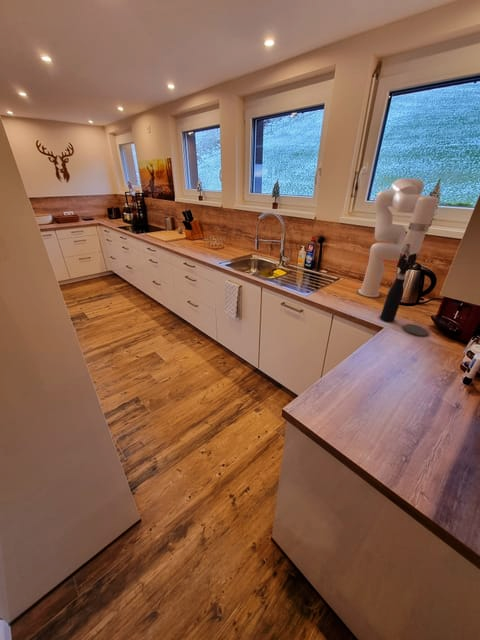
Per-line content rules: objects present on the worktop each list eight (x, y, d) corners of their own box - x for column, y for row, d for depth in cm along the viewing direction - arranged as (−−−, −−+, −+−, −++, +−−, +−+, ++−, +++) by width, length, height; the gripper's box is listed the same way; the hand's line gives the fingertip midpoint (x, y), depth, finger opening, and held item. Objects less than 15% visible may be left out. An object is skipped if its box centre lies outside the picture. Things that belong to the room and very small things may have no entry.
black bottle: (390, 323, 133) (411, 265, 118) (377, 318, 137) (396, 262, 122) (395, 319, 136) (416, 263, 122) (383, 315, 141) (401, 260, 126)
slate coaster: (409, 323, 133) (409, 322, 133) (430, 332, 126) (431, 330, 126) (399, 329, 128) (400, 327, 127) (421, 338, 121) (422, 337, 120)
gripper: (418, 225, 122) (405, 261, 130) (400, 227, 112) (388, 266, 120) (436, 227, 116) (422, 265, 124) (419, 230, 107) (405, 271, 115)
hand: (405, 265), depth 122 cm, fingers open, 9 cm apart
